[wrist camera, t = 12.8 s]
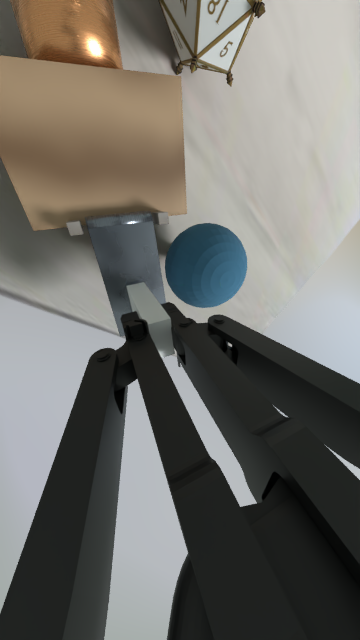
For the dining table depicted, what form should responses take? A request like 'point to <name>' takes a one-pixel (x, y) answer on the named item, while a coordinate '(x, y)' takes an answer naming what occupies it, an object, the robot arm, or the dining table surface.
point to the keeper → (126, 257)
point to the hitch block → (91, 141)
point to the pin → (69, 31)
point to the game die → (209, 31)
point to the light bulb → (206, 265)
